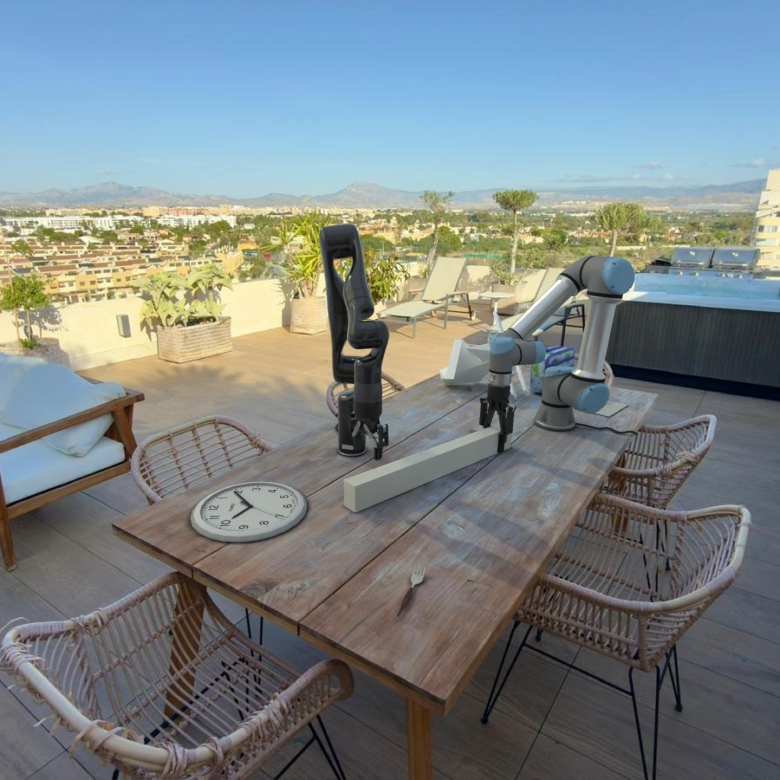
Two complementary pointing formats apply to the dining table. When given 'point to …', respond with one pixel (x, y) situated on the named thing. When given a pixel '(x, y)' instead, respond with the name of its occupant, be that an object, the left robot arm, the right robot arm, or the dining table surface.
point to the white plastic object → (474, 363)
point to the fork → (415, 580)
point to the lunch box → (550, 365)
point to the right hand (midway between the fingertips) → (493, 448)
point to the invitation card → (611, 408)
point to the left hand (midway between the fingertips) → (367, 454)
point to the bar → (420, 468)
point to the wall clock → (248, 512)
